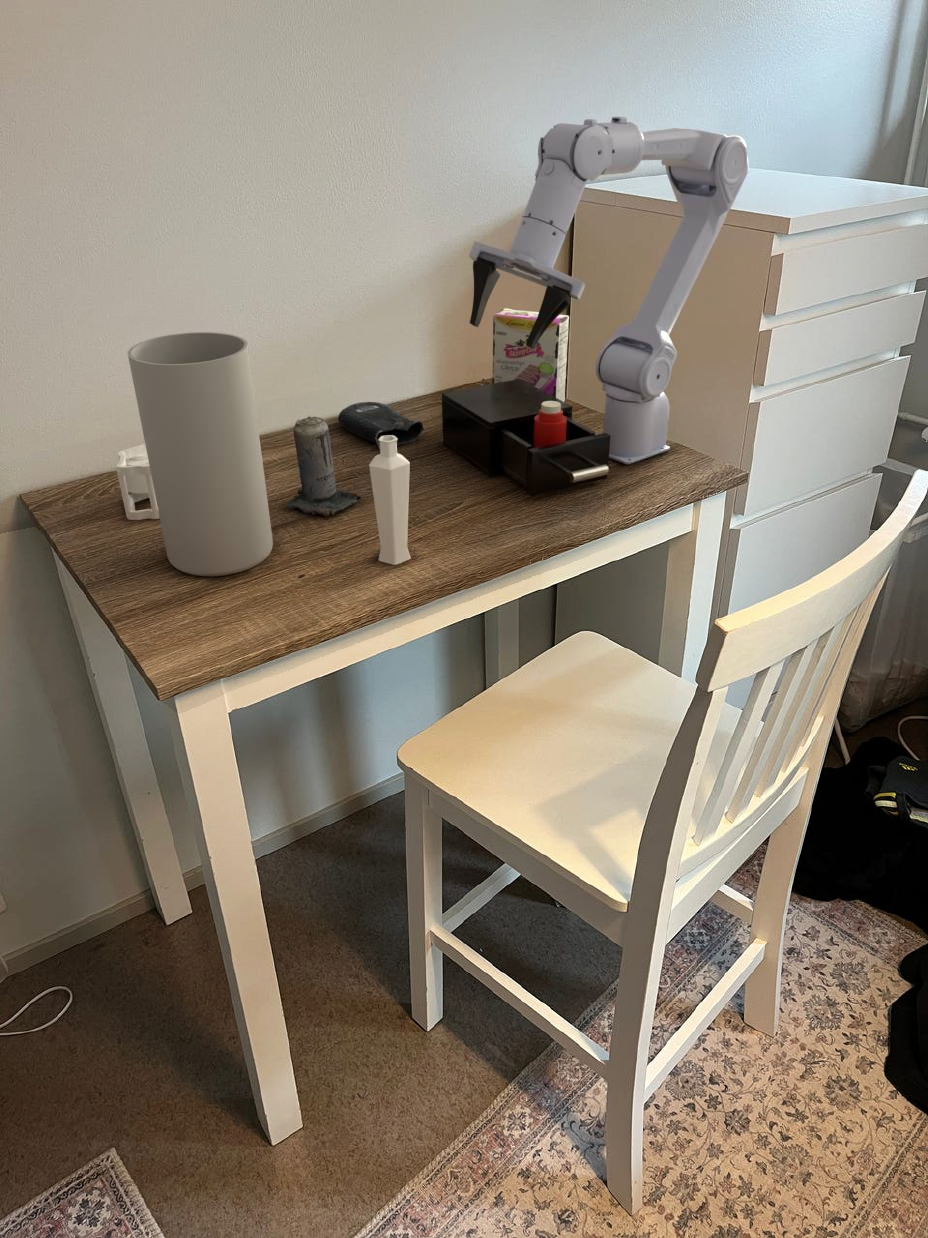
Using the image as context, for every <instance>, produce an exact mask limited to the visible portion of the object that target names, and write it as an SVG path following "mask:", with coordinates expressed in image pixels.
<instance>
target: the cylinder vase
mask: <svg viewBox="0 0 928 1238" xmlns="http://www.w3.org/2000/svg"><path fill="white" fill-rule="evenodd" d="M127 357H128V364H129V367H130V373H131V378H132V383H133V387H134V394H135V398H136V404H137V408H138V414H139V419H140V425H141V429H142V435H143V440H144V444H145V445H146V450H147V455H148V460H149V465H150V471H151V476H152V481H153V486H154V491H155V496H156V501H157V506H158V512H159V517H160V518H159V522H160V527H161V531H162V537H163V542H164V548H165V552H166V557H167V559H168V562H169V563H170V564H171V566H172V567H174V568H175V569H177V570H178V571H180V572H182V573H185V574H188V575H192V576H197V577H223V576H229V575H234V574H238V573H242V572H244V571H247V570H250V569H252V568H254V567H256V566H258V565H259V564H261V563H262V562H264V561H265V560H266V559H267V558H269V557H268V556H269V555H270V554H271V552H272V550H273V547H274V540H273V532H272V525H271V517H270V510H269V509H270V508H269V501H268V493H267V486H266V478H265V470H264V469H265V468H264V463H263V454H262V447H261V439H260V431H259V422H258V416H257V415H258V414H257V406H256V399H255V392H254V391H255V390H254V384H253V383H254V382H253V376H252V368H251V360H250V352H249V344H248V341H247V340H246V339H245V338H243V337H240V336H238V335H234V334H232V333H231V334H230V333H225V332H224V333H223V332H212V331H211V332H209V331H198V332H197V331H196V332H181V333H174V334H166V335H162V336H157V337H153V338H149V339H146V340H143V341H140V342H138V343H136V344H134V345H133V346H131V347H130V348H129V349H128V350H127Z"/></svg>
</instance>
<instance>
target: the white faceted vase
mask: <svg viewBox="0 0 928 1238" xmlns="http://www.w3.org/2000/svg"><path fill="white" fill-rule="evenodd" d="M397 440H398V439H397V438H396V437H395V436H394V435H388V436H381V437H380V438H379V441H380V449H379V452H380V453H379V454H377V455H374V457H373V458H372V460H371V461H370V462H369V464H368V469H369V474H370V482H371V490H372V495H373V496H372V497H373V503H374V511H375V518H376V523H377V530H378V531H377V532H378V538H379V545H380V550H379V555H378V561H379V562H381V563H386V564H390V565H393V566H397V565H399V564H402V563H404V562H406V561H409V560H411V559H412V558H411V554H410V551H409V547H408V534H409V533H408V527H409V502H410V501H409V500H410V499H409V497H410V468H411V467H410V466H411V463H410V461H409V460H408V459H407V458H406V457H405V456H404V455H402V454H401V453H399V452H398V447H397V446H398V445H397Z"/></svg>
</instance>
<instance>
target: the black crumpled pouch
mask: <svg viewBox="0 0 928 1238" xmlns="http://www.w3.org/2000/svg"><path fill="white" fill-rule="evenodd" d="M337 420H338V422H339V423H340V424H341V426H342V427H343V428H344V429H345V430H346V431H347V432H348V431H349V432H350V433H352V434H355V435H356V436H358V437H360V438H362V439H364V440H367V441H370V442H372V443H376V445H377V446H378V449H379V450H380V441H379V438H380V437H381V436H388V435H394V436H395V437H396V438H397V439H398V440H397V446H398V445H403V444H407V443H411V442H415V441H416V439H417V438H419V436H420V435H421V434H422V432H423V431H425V428H424V425H423V422H422V421H421V420H411V419H409V418H408V417H406V416H404V415H403V414H400V413H399V412H397V411H396V410H395V409H394V408H393V407H391V406H390V405H388V404H386V403H381V402H379V401H378V402H377V401H362V402H355V403H353V404H350V405H347V407H345V408H343V409H342V410H341V411H339V414H338V417H337Z"/></svg>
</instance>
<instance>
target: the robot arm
mask: <svg viewBox="0 0 928 1238" xmlns="http://www.w3.org/2000/svg"><path fill="white" fill-rule="evenodd" d="M747 147H748V146H747V144H746V141H745V139H744V138H743V137H741V136H739V135H730V136H727V135H726V134H724V133H720V132H719V133H718V132H712V131H707V130H701V129H692V128H691V129H690V128H677V127H674V128H673V127H672V128H665V129H657V130H648V131H642V130H641V129H640V127H639V126H638V125H637V124H635V123H634V122H631V121H628V117H627V116H612V117H611V122H598V119H593V118H587V119H585V120H584V121H583V124H577V123H576V124H575V123H564V122H563V123H562V122H561V123H557V124H554V125H553V128H552V127H551V128H550V129H549V130H548V131H547V132H546V134H545V135H544V136H543V137H542V136H541V137H540V138H539V142H538V147H537V158H538V165H537V168H536V171H535V174H534V176H535V178H534V182H535V183H534V185H533V188H532V190H531V193H530V195H529V198H528V201H527V203H526V206H525V209H524V211H523V214H522V217H521V219H520V222H519V225H518V227H517V230H516V233H515V235H514V238H513V240H512V243H511V246H510V248H509V251H508V250H504V249H501V248H498V247H494V246H491V245H488V244H484V243H482V242H478V241H475V240H474V242H473V244H472V246H471V250H470V252H469V255H468V257H469V258H470V259H471V260H472V261H473V262H472V275H473V299H472V309H471V314H470V318H469V324H470V325H471V326H473V327H476V328H479V326H480V323H481V322H482V319H483V316H484V313H485V310H486V308H487V304H488V301H489V300H490V297H491V295H492V293H493V290H494V288H495V286H496V285H497V283H498V281H499V279H500V277H501V273H500V272H499V271H502V272H506V273H508V274H511V275H513V276H516V277H519V278H521V279H524V280H527V281H529V282H532V283H535V284H537V285H540V286H543V287H546V288H545V292H544V295H543V299H542V302H541V305H540V308H539V311H538V312H539V314H538V317H537V319H536V321H535V324H534V326H533V328H532V330H531V332H530V335H529V337H528V340H527V343H526V345H527V346H528V347H530V348H532V349H534V347H535V345H536V344H537V342H538V340H539V339H540V337H541V336H542V334H543V333H544V332H545V330H546V329H547V328H548V327H549V325H550V324H551V323H552V322H553V321H554V320H555V319H556V318H557V317H558V316H559V315H562V313H563V312H564V311H565V310H567V308H569V306H570V304H571V298H572V299H575V300H577V301H580V300H581V297H582V295H583V292H584V290H585V287H586V284H585V282H584V281H583V280H580V279H578V278H575V277H573V276H571V275H568V274H566V273H564V272H561V271H559V270H556V269H555V268H554V266H555V264H556V262H557V259H558V257H559V254H560V251H561V249H562V246H563V244H564V241H565V239H566V236H567V233H568V231H569V229H570V226H571V224H572V221H573V218H574V215H575V213H576V211H577V208H578V206H579V203H580V200H581V198H582V195H583V193H584V190H585V187H586V185H587V183H588V180H589V181H590V182H593V181H595V180H596V179H598V178H599V177H600V176H606V175H607V176H608V175H618V174H627V173H631V172H633V171H635V170H636V168H638V166H639V165H640V164H641V161H661V165H662V166H665V171H666V175H667V178H668V180H669V183H670V186H671V189H672V191H673V194H674V197H675V200H676V203H677V204H678V205H679V206H680V207H681V208H682V210H683V217H682V219H681V221H680V224H679V226H678V227H677V230H676V232H675V234H674V236H673V238H672V240H671V242H670V245H669V246H668V248H667V251H666V253H665V254H664V257H663V259H662V261H661V263H660V265H659V267H658V269H657V272H656V273H655V276H654V278H653V279H652V281H651V284H650V286H649V287H648V290H647V292H646V294H645V296H644V299H643V301H642V302H641V305H640V307H639V309H638V311H637V313H636V315H635V318H634V319H632V321H630V322H628V323H625V324H623V325H622V326H620V327H618V328H616V329H615V330H614V332H613V334H612V336H611V338H610V339H609V341H608V342H607V343H606V344H605V345H604V346H603V347H602V348H601V350H600V351H599V352H598V355H597V357H596V361H595V374H596V377H597V379H598V381H599V382H600V383H601V384H602V389H601V390H602V391H603V392H605V398H604V399H605V401H604V403H605V404H604V413H603V414H604V415H603V427H602V429H603V430H602V433H607V434H609V435H610V436H611V437H610V450H609V459H611V460H613V461H616V462H619V463H621V464H623V465H631V464H634V463H637V462H639V461H642V460H645V459H648V458H650V457H654V456H656V455H659V454H662V453H665V452H668V451H670V449H671V447H670V446H669V445H667V437H668V428H669V419H670V410H671V409H670V401H669V399H668V396H667V395H666V393H665V392H664V391H665V390H666V388H667V387H668V385H669V382H670V380H671V376H672V370H673V367H674V363H675V361H676V359H677V357H678V352H677V350H676V348H675V345H674V344H673V341H672V339H671V336H670V334H671V332H672V330H673V328H674V326H675V324H676V322H677V319H678V318H679V316H680V313H681V311H682V309H683V308H684V305H685V303H686V301H687V299H688V297H689V295H690V293H691V291H692V289H693V287H694V285H695V283H696V281H697V279H698V276H699V274H700V273H701V270H702V268H703V267H704V264H705V263H706V260H707V259H708V256H709V254H710V252H711V249H712V248H713V246H714V244H715V241H716V239H717V238H718V235H719V234H720V231H721V229H722V228H723V225H724V223H725V220H726V218H727V215H728V212H729V211H730V210H731V209H732V206H733V205H734V203H735V200H736V198H737V196H738V194H739V192H740V190H741V188H742V186H743V184H744V182H745V180H746V178H747V175H748V173H749V172H750V169H749V168H750V167H749V154H748V148H747ZM498 270H499V271H498Z"/></svg>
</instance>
